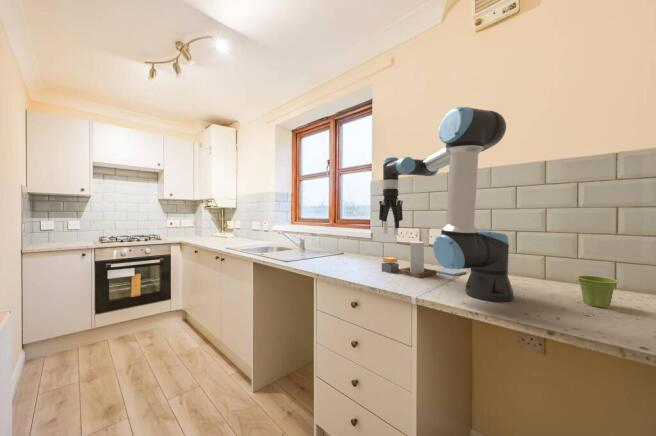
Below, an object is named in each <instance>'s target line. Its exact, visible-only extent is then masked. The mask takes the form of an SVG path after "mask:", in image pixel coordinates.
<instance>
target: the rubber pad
mask: <svg viewBox="0 0 656 436" xmlns="http://www.w3.org/2000/svg"><path fill="white" fill-rule="evenodd" d="M435 270H436V274H441V275H444V276H445V275H446V276H450V277H456V275H457V276H461V275H465V274H467V271H465V270H462V269H458V270H457V269H447V268H445V267H443V268H437V269H435ZM464 273H465V274H464ZM460 274H461V275H460Z"/></svg>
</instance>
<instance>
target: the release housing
mask: <svg viewBox="0 0 656 436" xmlns="http://www.w3.org/2000/svg"><path fill="white" fill-rule="evenodd" d="M399 265H400V263H398V262H396V263H392V264H388V263H386V262H382V263H381V272H385V273H389V274H392V273H398V269H400V268H399Z"/></svg>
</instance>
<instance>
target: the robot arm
mask: <svg viewBox="0 0 656 436" xmlns="http://www.w3.org/2000/svg"><path fill="white" fill-rule="evenodd" d="M506 131H507V122H506V120H505V118H504V116H502V114H500V113H499V112H497V111H494V110H488V109H480V108H474V107H470V106H457V107H454V108H452V109H451V110H449V111H448V112H447V113H446V114H445V116H444V117H443V118H442V120H441V123H440V125H439V127H438V136H439V139H440V141H441V142H443V143H444V144H445V147H443V148H441V149H440V150H438V151H436V152H435V153H433V154H431V155H429V156H427V157H425V158H424V159H415V158H412V157H411V156H405V157H404V156H403V157H400V158H398V157H394V156H390V157H385V158H384V159H383V165H382V173H383V174H382V177H383V178H382V179H383V181H382V187H383V190H382V196H383V200H380V201H379V203H378V204H379V213H378V214H379V215H378V220H380V221H381V225H382V234H383V235H387V234H388V233H389V229H388V228H389V227H388V225H389V223H388V222H389V221H388V215H389V213H390V209H391V211H392V215H393V216H392V217H393V219H394V220H393V223H392V224H393V225H392V226H393V228H392V230H393V231H392V235H393V236H397V235H398V236H399V229H400V222H401V221H403V219H404V218H403V217H404V215H403V200H401V199H399V198H398V197H399V189H398V188H399V176H405V175H406V176H421V177H423V176H424V177H433V176H435V175H437V173H438V172H439V170H441V169H443V168H445V167H447V166H449V167H448V168H449V170H448V189H447V190H448V191H447V205H446V206H447V207H446V208H447V209H446V224H445V225H444V226H443V227H441V231H440V232H441V233H440V235H439V236H437V237H436V238H435V239H434V241H433V245H432V250H433V254H434V257H435V259H436V260H437V262H438V263H439V264H440V266H441V267H443V268H447V269H456V270H463V269H470V273H469V277H468V278H467V281H466V284H465V286H464V287H465V289H464V291H465V294H466V295H467V296H469V297H472V298H475V299H480V300H484V301H491V302H511V301H513V300H514V299H515V297H514V296H515V293H514V289H513V285H512V284H511V280H510V278H509V253H510V252H509V251H510V249H509V247H510V244H509V236H508V235H507V234H505V233H502V232H497V231H495V232H494V231H487V230H478V229H477V228H476V226H475V217H476V216H475V214H476V202H477V201H476V200H477V199H476V198H477V197H476V196H477V184H478V169H479V168H478V167H479V154H480V153H482V152H484V151H486V150H488V149H490V148H493V147H494V146H495V145H497V144H499V143H500V142H501V140H502V139H503V137H504V136H505V134H506Z"/></svg>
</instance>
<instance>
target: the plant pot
mask: <svg viewBox="0 0 656 436" xmlns="http://www.w3.org/2000/svg"><path fill="white" fill-rule="evenodd" d="M576 278H577V279H578V283H579V285H580V289H581V294H582V301H583V304H585V305H586V304H587V306H590V307H593V306H595V307H594V308H596V307H598V308H599V307H600V308H603V309H606V308H607V309H608V307H609V308H610V307H611V303H612V298H613V295H614V294H613V293H614V288H615V287H616V285H617V283H618V280H616V279H613V278H609V277H604V276H597V275H577V276H576Z"/></svg>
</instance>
